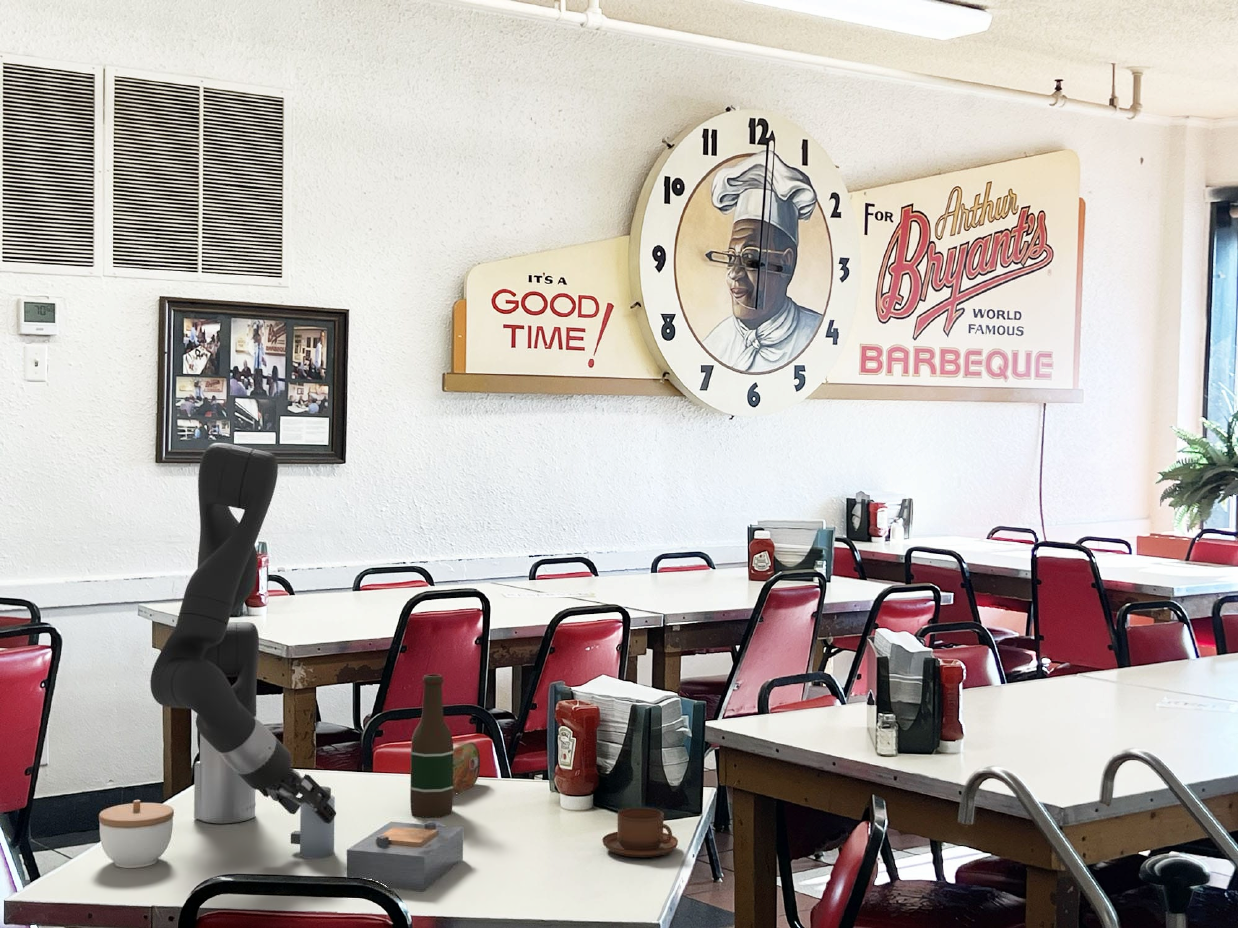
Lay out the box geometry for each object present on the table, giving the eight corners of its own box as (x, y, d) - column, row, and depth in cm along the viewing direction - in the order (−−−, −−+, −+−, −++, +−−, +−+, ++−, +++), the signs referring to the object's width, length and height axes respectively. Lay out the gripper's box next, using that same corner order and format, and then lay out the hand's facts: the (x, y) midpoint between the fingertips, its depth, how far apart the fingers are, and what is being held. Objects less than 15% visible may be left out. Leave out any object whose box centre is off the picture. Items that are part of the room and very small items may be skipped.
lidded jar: (181, 866, 207) (182, 804, 207) (106, 876, 201) (107, 812, 201) (163, 848, 216) (164, 788, 216) (91, 858, 210) (92, 796, 210)
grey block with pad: (346, 883, 199) (346, 841, 199) (403, 843, 220) (404, 805, 220) (424, 891, 197) (424, 847, 197) (474, 850, 217) (475, 810, 217)
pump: (285, 855, 213) (285, 791, 213) (300, 846, 218) (301, 783, 218) (324, 859, 212) (325, 794, 211) (339, 849, 217) (340, 786, 217)
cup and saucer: (686, 846, 222) (687, 808, 222) (664, 866, 211) (665, 826, 211) (616, 838, 226) (617, 800, 226) (591, 857, 215) (592, 818, 215)
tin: (444, 800, 249) (444, 753, 249) (428, 798, 250) (429, 752, 250) (481, 782, 263) (482, 738, 263) (466, 780, 264) (467, 737, 264)
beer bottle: (445, 819, 235) (447, 679, 235) (402, 816, 237) (404, 677, 237) (459, 808, 243) (461, 672, 243) (417, 805, 245) (419, 670, 244)
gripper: (298, 737, 203) (357, 801, 212) (239, 725, 212) (299, 786, 221) (268, 780, 199) (329, 842, 208) (209, 765, 207) (271, 826, 216)
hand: (313, 813), depth 214 cm, fingers open, 8 cm apart
